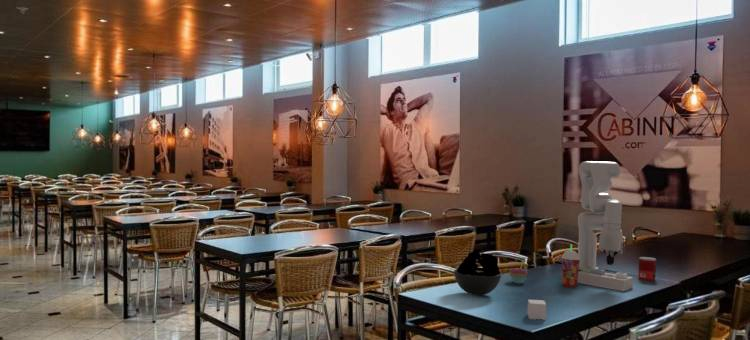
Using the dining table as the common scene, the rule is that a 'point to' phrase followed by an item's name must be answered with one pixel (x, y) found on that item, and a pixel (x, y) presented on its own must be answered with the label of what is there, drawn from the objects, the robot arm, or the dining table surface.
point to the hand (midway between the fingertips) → (610, 264)
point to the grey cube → (536, 309)
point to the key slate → (599, 271)
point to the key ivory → (621, 275)
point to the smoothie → (570, 268)
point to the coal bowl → (478, 273)
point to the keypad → (605, 281)
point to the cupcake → (518, 274)
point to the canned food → (647, 268)
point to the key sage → (588, 270)
